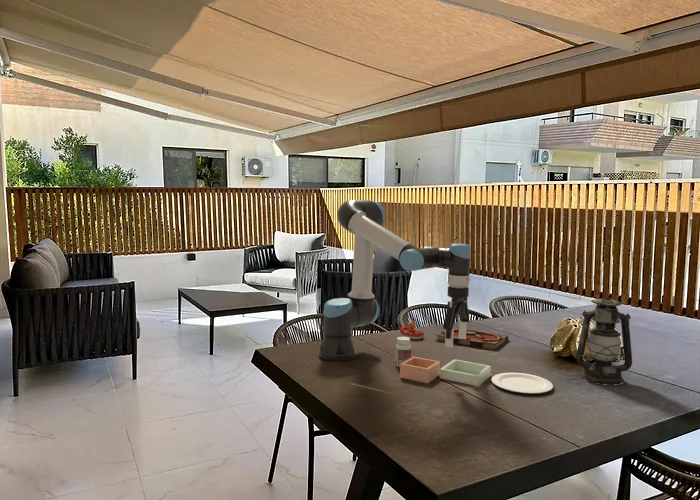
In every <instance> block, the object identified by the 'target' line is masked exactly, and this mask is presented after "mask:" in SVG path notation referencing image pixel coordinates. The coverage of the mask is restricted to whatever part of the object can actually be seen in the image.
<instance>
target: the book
mask: <svg viewBox="0 0 700 500" xmlns="http://www.w3.org/2000/svg"><path fill="white" fill-rule="evenodd" d="M452 330H454V332H453V345H461V346H466V347H469V348H476V349H482V350H483V349H485V350H491V351H496V350H498V349H499V345H500V346H501V345H502V344H503V343H505V342H508V341H509V335H503V334H496V333H490V332H486V331H485V332H484V331H478V330H471V329H466V339H460V338H458V337H459V328H457V327H456V328H455V327H453V329H452ZM445 333H446V329H444V330H443V331H440V332H439V333H436V334H435V336H436V337H437V338H436V339H435V341H436V342H440V343H441V342H442V343H445ZM435 341H434V342H435Z"/></svg>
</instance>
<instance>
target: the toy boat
mask: <svg viewBox="0 0 700 500" xmlns="http://www.w3.org/2000/svg"><path fill="white" fill-rule="evenodd" d="M415 327H416V323H415V322H413V321H410V322H409V323H408V327H407V326H401V327H400V329H399V334H400V337H409V338H410V340H414V339H415V340H416V341H417V339H418V340H421V339H423V337H424V336H425V334H424V331H422V330H419V329H415ZM415 340H414V341H415Z"/></svg>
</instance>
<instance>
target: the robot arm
mask: <svg viewBox="0 0 700 500" xmlns="http://www.w3.org/2000/svg"><path fill="white" fill-rule="evenodd" d="M336 214H337V221H338V222H339V225H340V226H341V227H342V228H343V229H344V230H346V231H348V232H349V233H351V234H353V235H354V245H353V258H352V259H353V264H352V276H351V277H352V281H351V291H350V292H349V293H347V297H346V298H345V297H338V298H332V299H329V300H327V301H326V302H325V303H324V305H323V338H322V342H321V345H320V347H319V351H318V352H319V355H318V356H319V357H320V358H321V359H322V360H327V361H332V362H333V361H334V362H342V361H344V362H345V361H349V360H352V359H355V357H356V348H355V345H354V342H353V337H352V336H353V335H352V333H353V332H352V331H353V329H355V328H358V327H363V326H368V325H370V324H373V323H374V322H375V321H376V320H377V318H378V316H379V313H380V306H379V303H378V301H377V300H376V298H375V294H374V293H373V292H372V289H373V272H374V256H375V255H374V254H375V246H376V247H377V248H378V249H380V250H382V251H383V252H385V253H386V254H388V255H390V256H392V257H393V258H394V259H396V260H397V261H399V264H400V266H401V267H402V269H403V270H405V271H409V272H410V271H411V272H415V271H420V270H425V269H426V270H427V269H433V268H440V269H448V276H447V285H448V286H447V296H448V297H449V298H451V301H450V300H449V301H447V306H446V313H445V316H444V320H443V321H444V322H443V326H442V329H443V330H446V333H445V342H444V347H446V348H451V349H453V347H454V344H453V332H454V330H452V329H453V328H454V325H455V323H456V319H457V316H458V318H459V320H460V321H459V322H458V329H459V337H458V338H460V339H466V330H467V324H468V323H469V322H470V313H469V307H468V297H469V291H470V290H469V289H470V288H469V287H468V286H469V285H470V281H471V278H470V267H471V258H472V257H471V256H472V255H471V246H470V245H469V244H466V243H450V244H449V247H448V248H447V247H440V246H437V247H436V246H433V245H432V246H430V245H428V246H424V247H423V248H419V247H417V246H415V245H413V244H412V243H410V242H408V241H407V240H405V239H403V238H402V237H400V236H398V235H397V234H395V233H394V232H393V231H391V230H388V229H387V228H386V227H384V226H383V224H384V223H385V222H386V211H385V208H384V207H383V206H382V205H381V203H380V202H378V201H376V200H369V199H367V200H365V199H361V200H360V199H358V200H353V199H350V200H347V201H345V202H343V203H342V204H341V205H339V207H338V209H337V213H336Z"/></svg>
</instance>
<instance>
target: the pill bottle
mask: <svg viewBox="0 0 700 500" xmlns="http://www.w3.org/2000/svg"><path fill="white" fill-rule="evenodd" d="M396 343H397V344H395V356H394V357H395V362H394V363H395V366H396V367H398V368H400V364H401V363H403V362H404V361H406V360H408V359H410V358H412V345H411V339H410V338H409V337H402V336H398V337H397V338H396Z"/></svg>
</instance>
